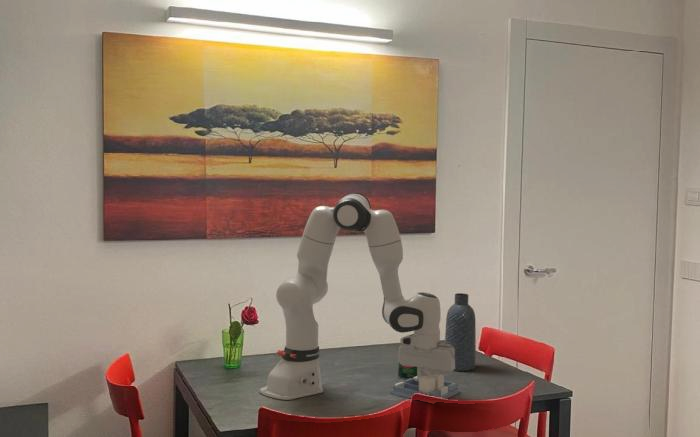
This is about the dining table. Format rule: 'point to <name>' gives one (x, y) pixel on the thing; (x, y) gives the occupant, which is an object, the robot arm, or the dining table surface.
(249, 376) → the dining table surface
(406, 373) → the canned tomato
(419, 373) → the far tab
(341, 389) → the dining table surface
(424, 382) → the near tab
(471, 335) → the vase
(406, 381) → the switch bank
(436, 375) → the middle tab
